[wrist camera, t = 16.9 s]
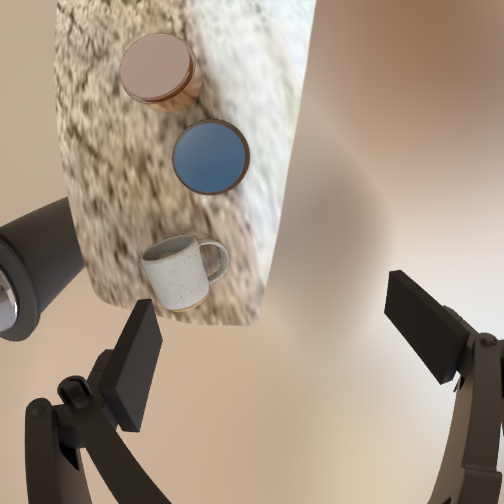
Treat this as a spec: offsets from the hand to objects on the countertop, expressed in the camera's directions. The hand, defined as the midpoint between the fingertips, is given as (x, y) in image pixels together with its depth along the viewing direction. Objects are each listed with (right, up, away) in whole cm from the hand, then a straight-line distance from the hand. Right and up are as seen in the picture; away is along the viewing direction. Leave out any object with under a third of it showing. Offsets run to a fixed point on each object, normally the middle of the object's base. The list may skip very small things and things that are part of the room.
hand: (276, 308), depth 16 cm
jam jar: (-12, +25, +18) cm, 33 cm away
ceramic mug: (-10, +2, +26) cm, 28 cm away
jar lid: (-6, +15, +20) cm, 26 cm away
